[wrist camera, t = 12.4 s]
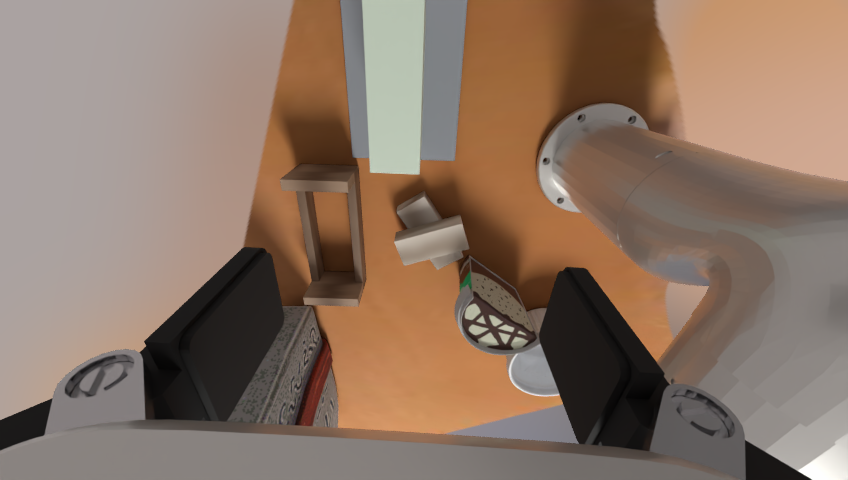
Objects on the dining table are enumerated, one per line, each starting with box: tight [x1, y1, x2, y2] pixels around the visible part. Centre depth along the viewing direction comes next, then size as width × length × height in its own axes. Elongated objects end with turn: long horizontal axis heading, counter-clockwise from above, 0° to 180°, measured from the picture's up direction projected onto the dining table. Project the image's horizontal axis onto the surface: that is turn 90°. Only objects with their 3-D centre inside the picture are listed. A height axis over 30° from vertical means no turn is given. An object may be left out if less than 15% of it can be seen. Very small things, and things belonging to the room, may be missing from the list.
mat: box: [340, 0, 467, 161], centre depth 33 cm, size 12×16×1 cm
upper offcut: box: [394, 215, 469, 266], centre depth 39 cm, size 4×8×2 cm, turn 107°
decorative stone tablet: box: [226, 306, 338, 428], centre depth 47 cm, size 19×6×30 cm
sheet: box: [362, 0, 426, 174], centre depth 28 cm, size 4×12×12 cm, turn 178°
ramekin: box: [506, 308, 560, 396], centre depth 48 cm, size 13×13×7 cm
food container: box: [455, 255, 540, 355], centre depth 42 cm, size 12×6×10 cm, turn 52°
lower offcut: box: [397, 191, 463, 270], centre depth 41 cm, size 4×10×2 cm, turn 31°
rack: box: [280, 164, 366, 307], centre depth 39 cm, size 7×17×6 cm, turn 178°
